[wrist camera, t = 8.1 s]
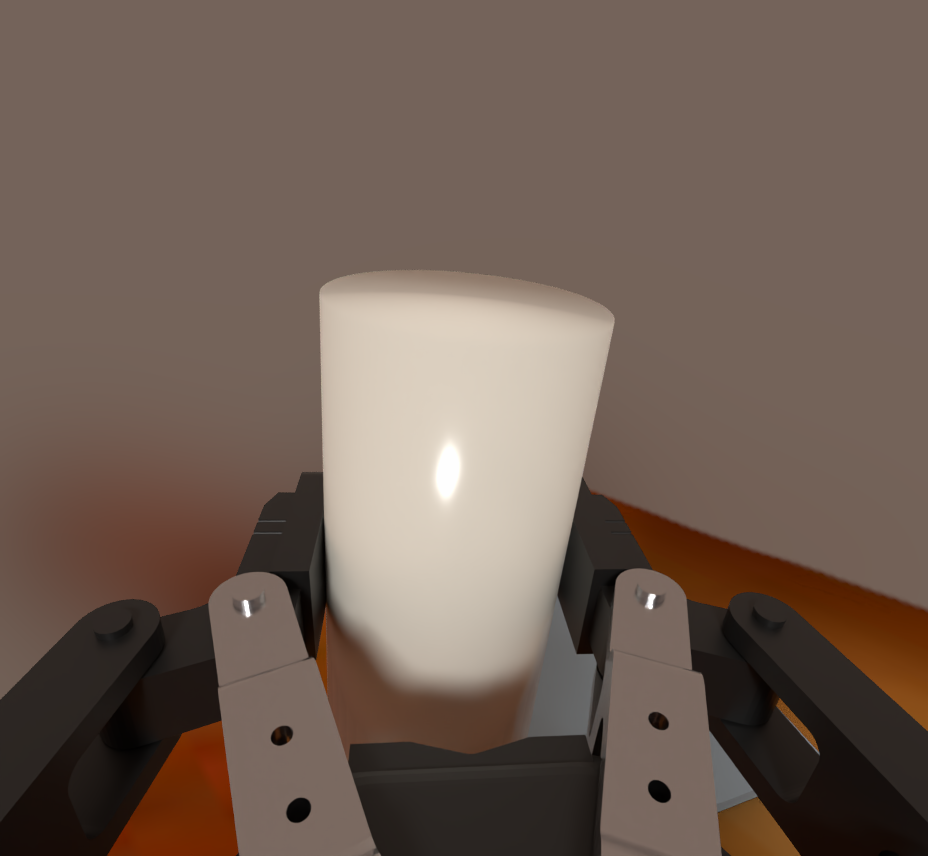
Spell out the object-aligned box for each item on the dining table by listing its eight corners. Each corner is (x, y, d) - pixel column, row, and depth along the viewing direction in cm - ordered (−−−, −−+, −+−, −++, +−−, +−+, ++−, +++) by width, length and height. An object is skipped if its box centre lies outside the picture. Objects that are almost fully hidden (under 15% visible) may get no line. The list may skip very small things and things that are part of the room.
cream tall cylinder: (483, 693, 19) (546, 275, 13) (540, 862, 15) (676, 344, 9) (325, 720, 18) (315, 265, 12) (335, 915, 13) (326, 342, 7)
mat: (624, 552, 44) (626, 544, 44) (821, 771, 29) (827, 761, 29) (400, 596, 38) (400, 587, 38) (502, 897, 23) (504, 887, 23)
